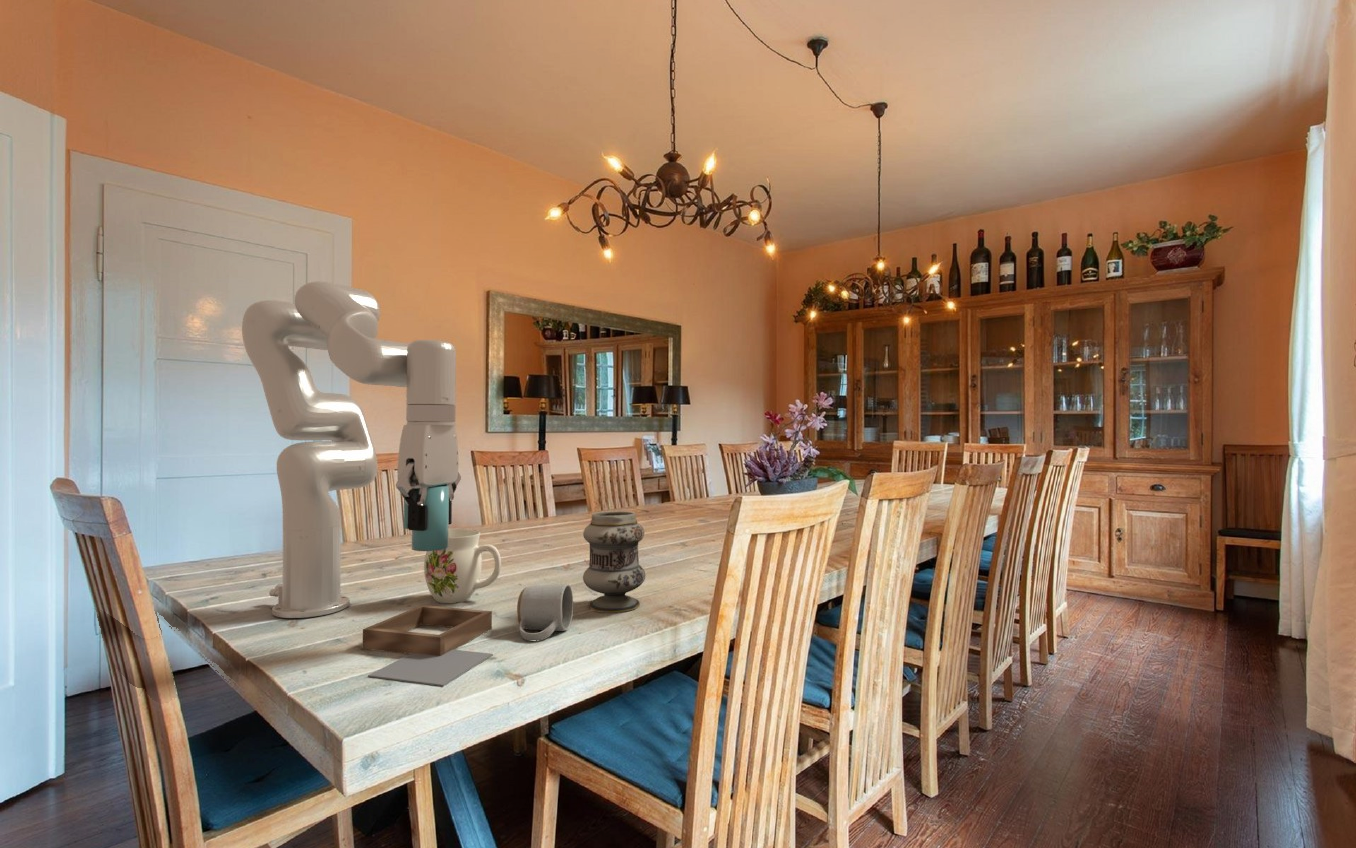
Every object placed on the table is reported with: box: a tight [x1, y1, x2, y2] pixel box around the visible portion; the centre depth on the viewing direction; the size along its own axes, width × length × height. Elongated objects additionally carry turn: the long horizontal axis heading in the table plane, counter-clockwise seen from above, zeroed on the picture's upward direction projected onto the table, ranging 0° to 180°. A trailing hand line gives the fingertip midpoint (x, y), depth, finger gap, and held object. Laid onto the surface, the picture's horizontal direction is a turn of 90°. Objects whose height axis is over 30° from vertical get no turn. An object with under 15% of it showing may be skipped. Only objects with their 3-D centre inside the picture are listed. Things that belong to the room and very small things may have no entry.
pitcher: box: [423, 528, 502, 604], centre depth 127 cm, size 11×18×14 cm, turn 82°
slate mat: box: [367, 649, 494, 687], centre depth 91 cm, size 12×12×1 cm
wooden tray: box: [362, 604, 493, 656], centre depth 103 cm, size 14×14×3 cm
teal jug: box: [403, 485, 450, 552], centre depth 104 cm, size 7×6×10 cm
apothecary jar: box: [582, 510, 646, 614], centre depth 122 cm, size 12×12×18 cm
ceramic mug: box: [516, 583, 574, 642], centre depth 107 cm, size 11×8×8 cm
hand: (430, 526), depth 103 cm, fingers closed on teal jug, 5 cm apart
